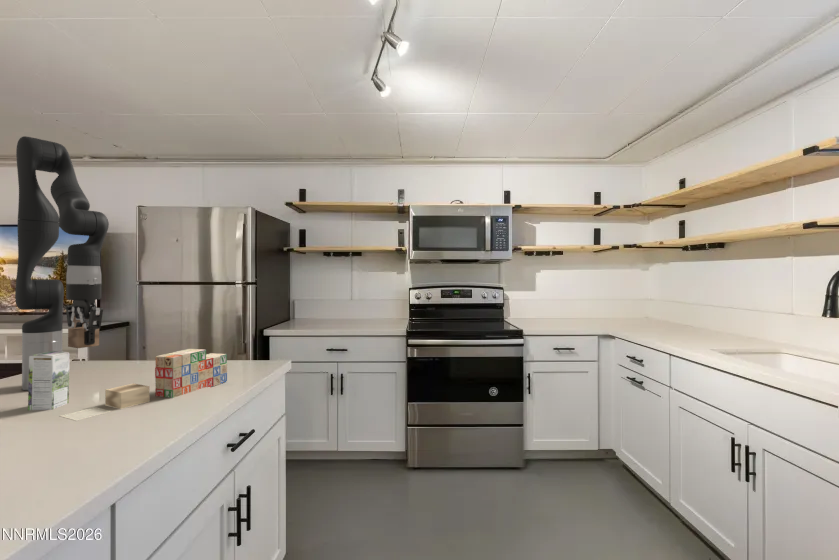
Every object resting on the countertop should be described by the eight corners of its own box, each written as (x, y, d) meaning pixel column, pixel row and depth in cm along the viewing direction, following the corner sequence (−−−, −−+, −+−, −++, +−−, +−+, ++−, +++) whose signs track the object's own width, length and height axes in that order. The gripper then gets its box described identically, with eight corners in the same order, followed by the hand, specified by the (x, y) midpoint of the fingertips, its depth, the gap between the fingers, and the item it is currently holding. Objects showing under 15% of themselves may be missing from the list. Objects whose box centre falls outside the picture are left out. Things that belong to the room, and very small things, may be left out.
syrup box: (46, 405, 108) (46, 351, 108) (70, 405, 109) (70, 350, 109) (27, 412, 103) (27, 355, 103) (52, 412, 103) (52, 354, 103)
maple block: (105, 404, 107) (105, 389, 107) (133, 397, 113) (133, 383, 113) (121, 408, 104) (121, 392, 104) (149, 401, 110) (149, 386, 110)
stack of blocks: (211, 380, 136) (211, 343, 136) (227, 382, 134) (227, 344, 134) (154, 399, 115) (154, 355, 115) (172, 401, 114) (172, 356, 113)
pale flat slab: (44, 414, 101) (44, 411, 101) (120, 396, 117) (120, 394, 117) (78, 424, 95) (78, 421, 95) (153, 403, 110) (153, 401, 110)
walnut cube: (68, 346, 112) (68, 328, 112) (89, 343, 117) (89, 326, 117) (78, 348, 110) (78, 329, 110) (99, 345, 115) (99, 327, 115)
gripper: (53, 281, 113) (53, 343, 113) (82, 283, 107) (82, 348, 107) (85, 281, 120) (85, 339, 120) (114, 282, 114) (114, 344, 114)
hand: (83, 343), depth 114 cm, fingers closed on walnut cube, 5 cm apart
